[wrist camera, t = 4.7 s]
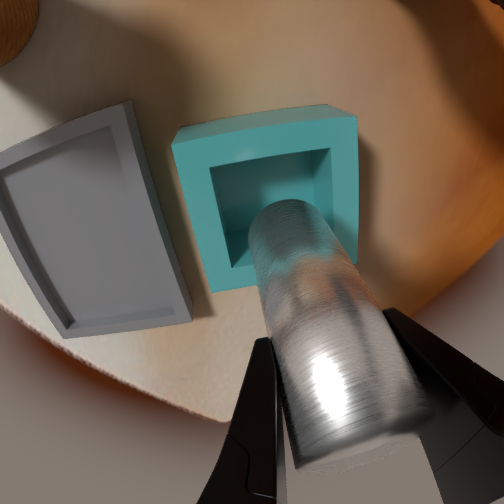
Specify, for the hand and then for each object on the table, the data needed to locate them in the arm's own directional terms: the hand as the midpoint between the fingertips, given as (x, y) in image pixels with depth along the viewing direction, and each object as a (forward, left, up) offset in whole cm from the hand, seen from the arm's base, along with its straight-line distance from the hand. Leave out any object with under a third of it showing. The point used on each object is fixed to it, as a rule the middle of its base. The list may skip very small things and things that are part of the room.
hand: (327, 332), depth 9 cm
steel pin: (0, 0, -6) cm, 6 cm away
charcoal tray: (+13, +1, -13) cm, 18 cm away
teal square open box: (0, 0, -13) cm, 13 cm away
